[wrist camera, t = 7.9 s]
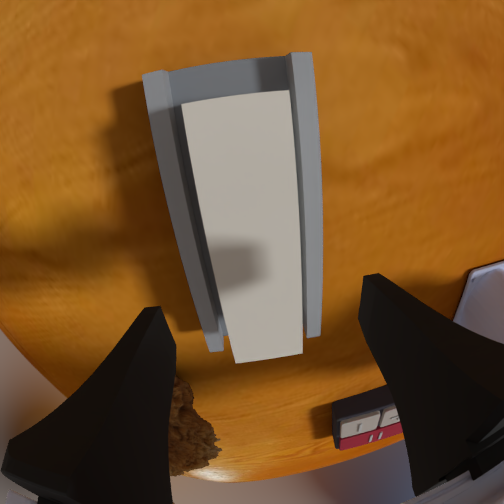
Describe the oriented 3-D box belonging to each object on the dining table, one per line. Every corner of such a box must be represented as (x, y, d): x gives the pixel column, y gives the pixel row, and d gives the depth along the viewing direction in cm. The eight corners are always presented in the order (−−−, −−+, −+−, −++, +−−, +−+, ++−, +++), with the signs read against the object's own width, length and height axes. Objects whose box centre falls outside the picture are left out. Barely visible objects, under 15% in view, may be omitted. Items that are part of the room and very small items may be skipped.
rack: (312, 313, 23) (320, 335, 21) (210, 328, 23) (209, 352, 20) (299, 57, 14) (311, 52, 11) (153, 77, 13) (141, 74, 11)
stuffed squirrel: (86, 391, 27) (62, 493, 15) (143, 332, 22) (114, 486, 11) (159, 425, 31) (152, 520, 19) (234, 381, 26) (244, 511, 15)
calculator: (337, 425, 28) (454, 386, 26) (330, 395, 31) (440, 360, 30) (336, 454, 33) (432, 423, 32) (331, 429, 37) (423, 401, 36)
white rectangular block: (289, 305, 21) (302, 353, 17) (232, 313, 21) (235, 363, 17) (271, 91, 14) (289, 90, 10) (193, 101, 14) (181, 104, 10)
